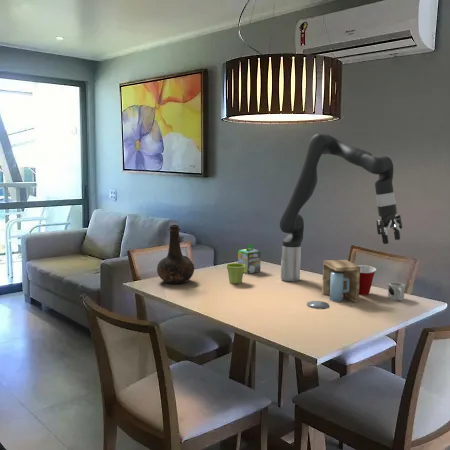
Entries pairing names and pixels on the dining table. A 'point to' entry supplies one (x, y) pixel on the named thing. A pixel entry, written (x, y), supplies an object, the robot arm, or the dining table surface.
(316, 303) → the coaster
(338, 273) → the light blue piece
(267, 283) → the dining table surface
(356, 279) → the shelf
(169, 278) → the glass bottle
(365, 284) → the plastic cup
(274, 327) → the dining table surface
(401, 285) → the mug
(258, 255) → the chalk box
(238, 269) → the plant pot
